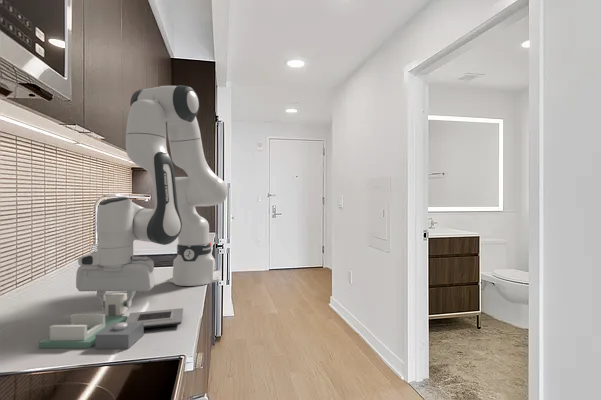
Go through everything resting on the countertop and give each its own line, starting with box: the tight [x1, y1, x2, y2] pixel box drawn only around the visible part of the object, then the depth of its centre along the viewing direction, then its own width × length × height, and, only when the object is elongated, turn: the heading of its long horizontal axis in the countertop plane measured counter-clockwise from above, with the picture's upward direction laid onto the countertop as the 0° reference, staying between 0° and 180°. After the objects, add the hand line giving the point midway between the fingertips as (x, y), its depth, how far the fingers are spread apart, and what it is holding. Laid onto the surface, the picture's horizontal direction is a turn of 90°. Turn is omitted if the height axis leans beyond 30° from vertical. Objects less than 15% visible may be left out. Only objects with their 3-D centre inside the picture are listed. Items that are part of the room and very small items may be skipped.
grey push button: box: [95, 322, 145, 350], centre depth 78 cm, size 7×7×4 cm
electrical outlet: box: [125, 307, 184, 329], centre depth 89 cm, size 13×10×2 cm
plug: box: [104, 292, 128, 316], centre depth 96 cm, size 5×4×5 cm
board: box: [37, 313, 128, 349], centre depth 83 cm, size 16×11×4 cm
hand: (116, 306), depth 97 cm, fingers open, 5 cm apart
